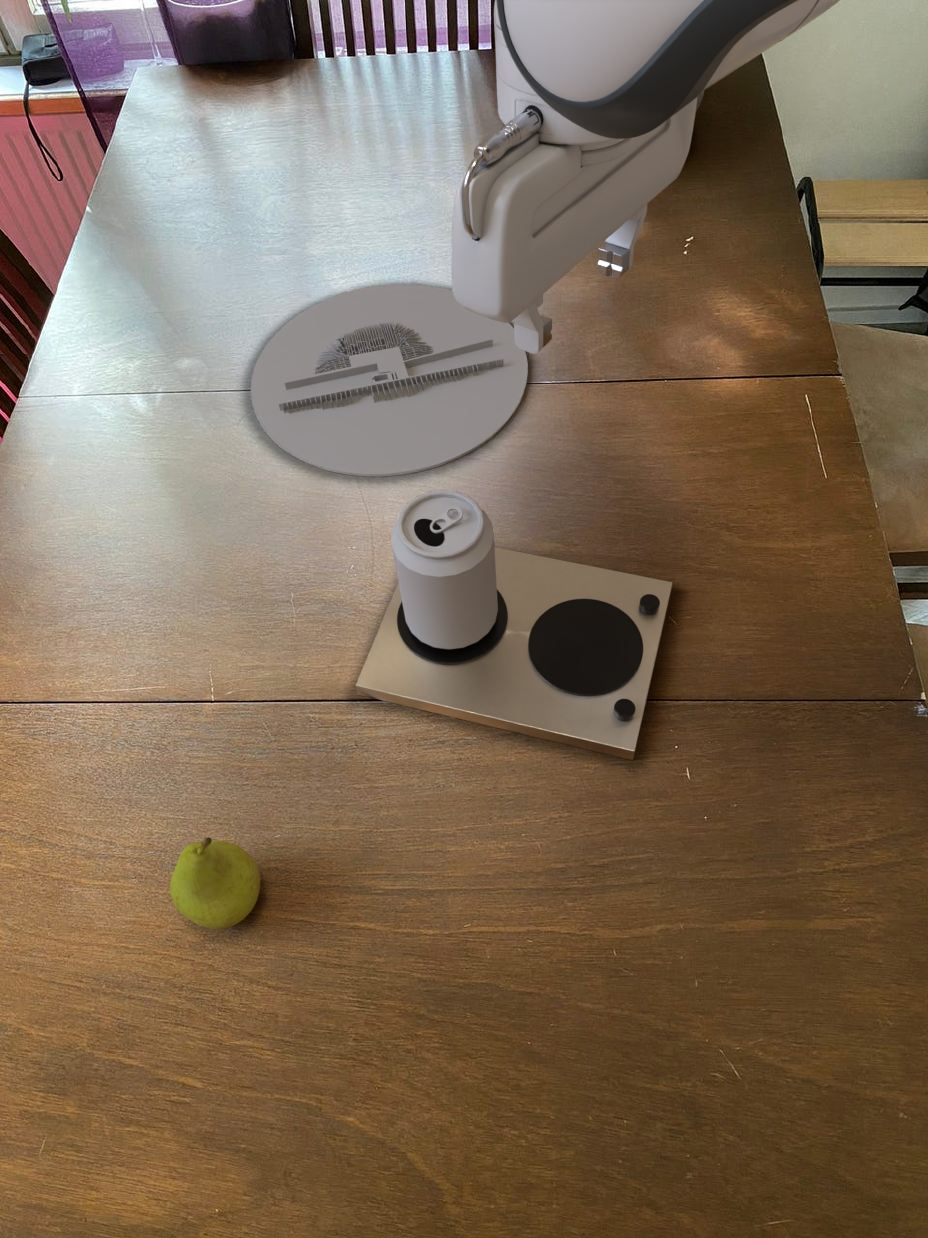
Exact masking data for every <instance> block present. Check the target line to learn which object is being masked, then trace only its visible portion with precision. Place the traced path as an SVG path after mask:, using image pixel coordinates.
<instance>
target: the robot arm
mask: <svg viewBox="0 0 928 1238" xmlns="http://www.w3.org/2000/svg"><path fill="white" fill-rule="evenodd" d="M840 1H841V0H494V5H493V24H494V25H493V26H494V27H493V29H494V46H495V47H494V48H495V49H494V51H495V74H496V75H495V76H496V78H495V79H496V97H497V98H496V100H497V113H498V117H499V119H500V121H501V122H502V123H503V125H504V126H503V127H502V128H501V129H500V130H499V131H497V132H495V133H492V134H490V135H488V136H486V137H485V138H483V139H482V140H481V141H480V142H479V143H478V144H477V145H476V146H475V147H474V150H473V159H472V160H471V162H470V164H469V166H468V167H467V169H466V170H465V171H464V173H463V174H462V176H461V178H460V179H459V182H458V183H457V187H456V190H455V194H454V199H453V206H452V217H451V219H452V221H451V245H450V247H451V248H450V249H451V250H450V251H451V254H450V255H451V257H450V261H451V264H450V265H451V267H450V268H451V290H452V291H453V295H454V298H455V299H456V301H457V302H458V303H459V304H460V305H462V306H463V307H464V308H465V309H467V310H469V311H471V312H474V313H476V314H478V315H481V316H484V317H487V318H489V319H492V320H495V321H499V322H503V323H508V322H509V323H510V322H511V323H512V324H513V328H514V340H515V344H516V346H517V347H518V348H519V349H521V350H524V351H525V352H527V353H529V354H532V355H537V354H539V353H540V352H541V351H542V350H543V349H544V348H545V347H546V346H547V345H548V344H549V343H550V342H551V341H552V339H553V334H552V333H551V332H552V330H553V318H552V317H548V316H545V315H541V313H540V312H539V310H538V308H540V307H541V306H542V305H543V303H544V294H545V293H546V292H547V291H549V289H551V288H552V287H554V285H556V284H557V283H558V282H559V281H560V280H561V279H563V277H565V276H566V275H567V274H569V272H571V271H572V270H573V268H575V267H576V266H578V264H580V263H581V262H582V261H583V260H584V259H586V257H588V256H589V255H590V254H591V253H592V252H594V251H595V250H596V249H597V248H598V251H597V258H598V262H597V270H598V272H599V273H600V274H601V276H605V277H611V278H612V279H613V280H618V279H620V278H621V277H623V275H625V274H626V273H627V272H628V271H629V270H630V269H631V268H632V267H633V265H634V253H635V252H634V251H635V245H636V243H637V241H638V238H639V235H640V233H641V230H642V227H643V224H644V222H645V219H646V216H647V213H648V204H649V203H650V202H651V201H652V200H653V199H654V198H656V197H657V196H658V195H659V194H661V192H663V191H664V190H665V189H666V188H667V187H668V186H670V184H672V183H673V182H674V181H675V180H677V179H678V177H679V176H680V174H681V173H682V170H683V168H684V166H685V163H686V160H687V158H688V155H689V153H690V149H691V143H692V137H693V132H694V126H695V119H696V113H697V111H696V105H697V97H698V95H699V94H700V93H701V92H702V91H704V90H707V89H709V88H711V86H713V85H714V84H716V83H717V82H719V81H721V80H722V79H724V78H726V77H727V76H729V75H730V74H732V73H733V72H735V71H737V70H738V69H740V67H742V66H744V65H746V64H747V63H749V62H751V61H752V60H753V59H755V58H756V57H758V56H759V55H761V54H762V53H764V52H766V51H767V50H769V49H770V48H772V47H774V46H776V44H779V43H780V42H782V41H784V40H785V39H787V38H788V37H790V36H791V35H793V34H794V33H797V32H798V31H800V30H801V29H803V28H804V27H805V26H806V25H808V24H810V23H811V22H812V21H814V20H816V19H817V18H818V17H820V16H822V14H824V13H826V12H827V11H828V10H830V9H831V8H833V7H834V6H835V5H836V4H838V3H839V2H840ZM704 92H705V91H704Z"/></svg>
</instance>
